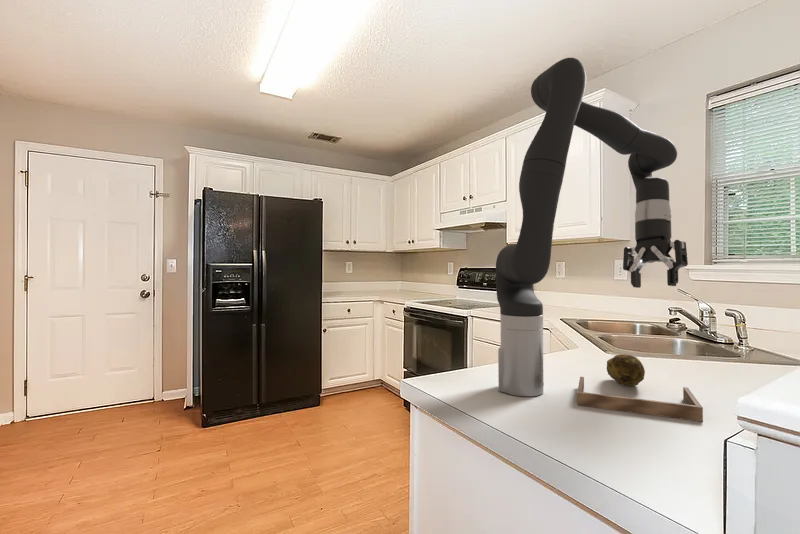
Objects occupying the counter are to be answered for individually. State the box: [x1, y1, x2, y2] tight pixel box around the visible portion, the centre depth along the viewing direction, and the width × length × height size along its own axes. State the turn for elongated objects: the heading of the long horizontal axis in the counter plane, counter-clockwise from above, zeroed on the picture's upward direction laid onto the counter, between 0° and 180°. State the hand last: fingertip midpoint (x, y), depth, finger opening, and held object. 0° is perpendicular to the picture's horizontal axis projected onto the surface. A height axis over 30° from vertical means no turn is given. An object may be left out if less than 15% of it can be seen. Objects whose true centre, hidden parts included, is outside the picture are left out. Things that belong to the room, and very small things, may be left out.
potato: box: [606, 353, 646, 387], centre depth 94 cm, size 8×13×8 cm, turn 147°
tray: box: [576, 376, 704, 422], centre depth 83 cm, size 21×14×2 cm, turn 64°
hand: (653, 286), depth 97 cm, fingers open, 8 cm apart
